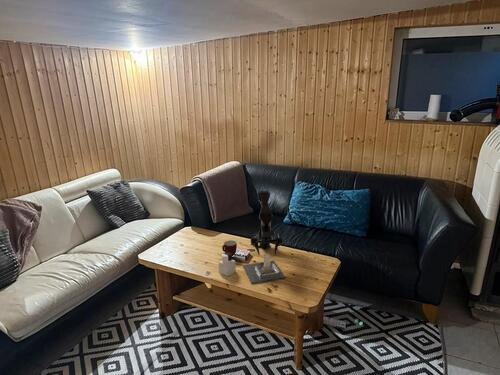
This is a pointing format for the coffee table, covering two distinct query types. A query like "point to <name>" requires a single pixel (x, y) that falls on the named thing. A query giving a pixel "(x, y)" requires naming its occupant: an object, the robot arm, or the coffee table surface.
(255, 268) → the keeper board
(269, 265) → the beige flared base peg
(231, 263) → the medicine bottle
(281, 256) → the coffee table surface
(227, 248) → the mug
